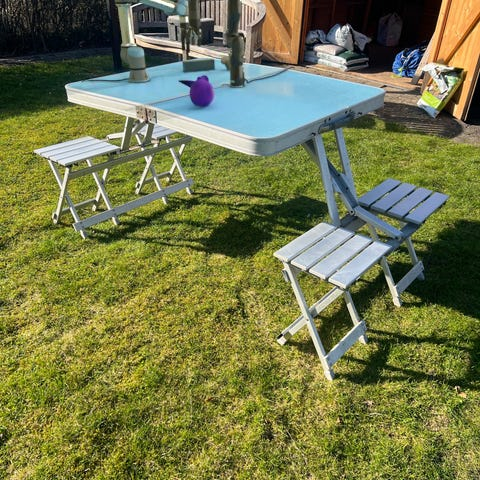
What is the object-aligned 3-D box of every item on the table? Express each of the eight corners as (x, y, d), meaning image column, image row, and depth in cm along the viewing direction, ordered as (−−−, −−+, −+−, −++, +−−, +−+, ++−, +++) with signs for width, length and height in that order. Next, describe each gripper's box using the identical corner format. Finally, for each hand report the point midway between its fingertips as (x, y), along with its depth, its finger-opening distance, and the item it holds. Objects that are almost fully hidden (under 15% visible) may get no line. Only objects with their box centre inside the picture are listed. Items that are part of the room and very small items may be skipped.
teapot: (224, 71, 365) (223, 52, 358) (217, 69, 374) (217, 50, 366) (247, 69, 374) (246, 49, 367) (240, 67, 383) (239, 48, 375)
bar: (185, 72, 367) (184, 62, 363) (183, 71, 372) (182, 61, 368) (214, 69, 376) (214, 59, 372) (212, 68, 380) (212, 58, 376)
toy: (202, 97, 286) (214, 113, 266) (175, 93, 279) (186, 108, 258) (208, 72, 278) (220, 86, 258) (180, 67, 271) (191, 81, 250)
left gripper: (193, 23, 343) (194, 53, 354) (184, 21, 363) (186, 49, 374) (184, 23, 341) (185, 53, 351) (175, 21, 361) (177, 49, 371)
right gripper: (205, 18, 279) (206, 46, 287) (194, 17, 289) (196, 44, 297) (194, 19, 275) (196, 47, 284) (184, 17, 286) (186, 45, 294)
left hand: (185, 51), depth 363 cm, fingers open, 13 cm apart
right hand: (196, 45), depth 290 cm, fingers open, 8 cm apart
